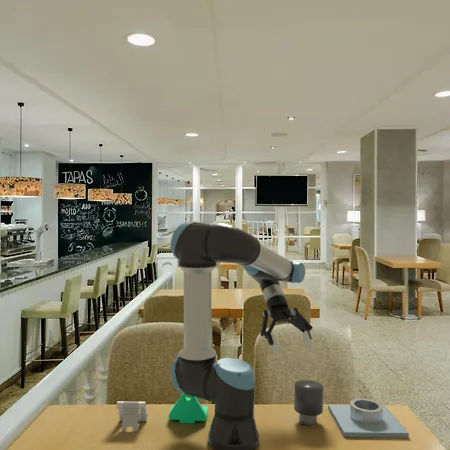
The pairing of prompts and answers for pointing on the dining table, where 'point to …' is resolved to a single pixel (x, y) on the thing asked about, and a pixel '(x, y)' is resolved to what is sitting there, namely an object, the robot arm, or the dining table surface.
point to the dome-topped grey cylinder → (308, 401)
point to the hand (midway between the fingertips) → (294, 350)
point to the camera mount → (188, 410)
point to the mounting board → (354, 429)
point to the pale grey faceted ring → (366, 411)
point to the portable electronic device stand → (131, 413)
